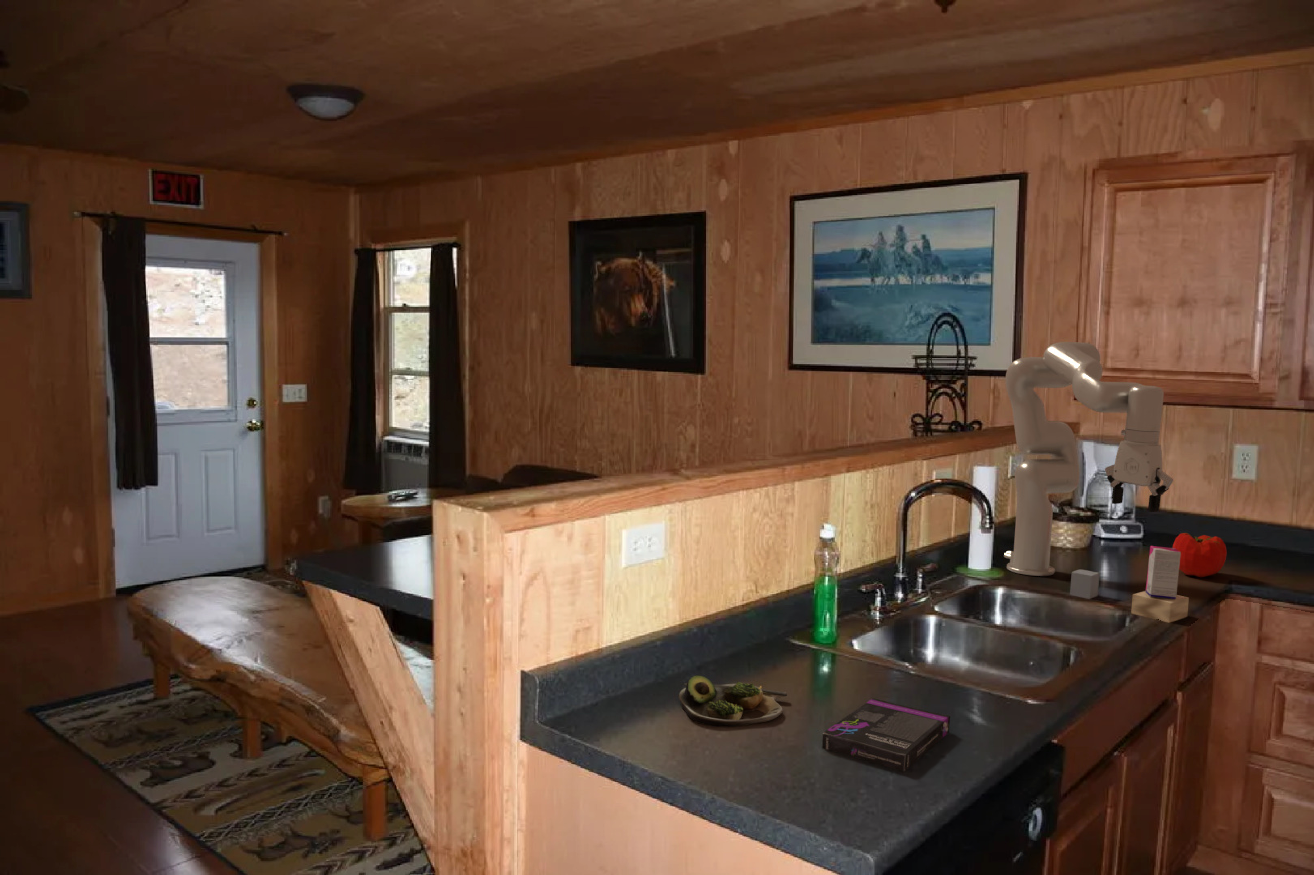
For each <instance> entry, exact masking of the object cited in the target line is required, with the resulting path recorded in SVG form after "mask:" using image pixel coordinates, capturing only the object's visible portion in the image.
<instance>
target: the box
mask: <svg viewBox="0 0 1314 875" xmlns="http://www.w3.org/2000/svg"><path fill="white" fill-rule="evenodd" d="M950 722H951V715H947V714H942V713H939V712H934V711H929V710H924V709H920V708H916V707H912V706H907V705H902V704H898V703H893V702H890V701H886V700H881V699H878V698H871V699H870V700H868V701H867V702H865V703H864V704H862V705H861V706H860V707H858V708H856V709H855V710H853V711H852V712H851V713H849V714H848V715H846V716H845V717H843V718H841V720H839V721H838V722H836V723H835V724H834V725H832V726H831V727H829V728H828V729H826V730H825V731H823V732H822V744H821V745H822V749H825V750H829V751H831V752H836V753H838V754H842V755H845V756H849V757H853V758H856V759H858V760H863V761H866V762H870V763H872V764H876V765H880V766H883V767H886V768H890V769H893V770H895V771H896V770H897V771H900V772H903V773H904V772H905V771H907V770H909V768H911V767H912V766H913V765H914V764H916V763H917V761H919V760H920V758H922V757H923V756H924V755H925V754H926V753H928V751H930V750H931V749H932V748H934V746H936V745H937V743H939V742H940V741H941V740H942V739H943V738H944V737H945V736H946V735H947V734H949V732H950Z"/></svg>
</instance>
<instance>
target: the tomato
mask: <svg viewBox="0 0 1314 875" xmlns="http://www.w3.org/2000/svg"><path fill="white" fill-rule="evenodd" d="M1172 548H1175V549H1177V550H1178V551H1179V552H1181V555H1180V565H1179V571H1181V572H1182V573H1184V575H1187V576H1195V577H1197V578H1205V577H1210V576H1214V575H1215V574H1217V573H1219V572H1221V569H1222V568H1223V567H1224V565H1225V562H1226V559H1227V553H1228V552H1227V547H1226V543H1225V542H1224V540H1223V539H1222V538H1221V537H1218V536H1209V535H1205V534H1203V535H1200V536H1198V537H1197V536H1192V535H1191V534H1190V533H1188V532H1181V533H1179V535H1178V536H1176V537H1175V539H1174V542H1173V544H1172Z"/></svg>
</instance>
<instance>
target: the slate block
mask: <svg viewBox="0 0 1314 875" xmlns="http://www.w3.org/2000/svg"><path fill="white" fill-rule="evenodd" d="M1070 575H1071V576H1070V578H1071V579H1070V588H1069V589H1070V590H1069V595H1070V596H1073V597H1079V598H1083V599H1086V600H1087V599H1088V600H1091V599H1092V598H1093V599H1094V598H1096V597H1098V596H1099V583H1100V572H1098V571H1097V572H1096V571H1091V570H1086V569H1082V568H1081V569H1077V570H1074V571H1071V574H1070Z"/></svg>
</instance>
